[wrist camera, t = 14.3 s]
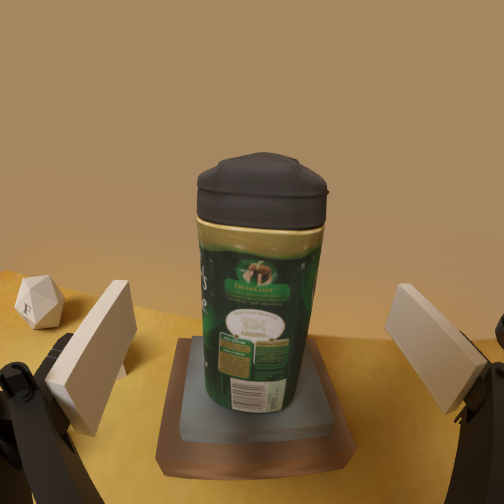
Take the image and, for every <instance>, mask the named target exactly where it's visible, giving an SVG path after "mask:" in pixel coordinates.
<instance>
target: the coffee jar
mask: <svg viewBox="0 0 504 504" xmlns="http://www.w3.org/2000/svg"><path fill="white" fill-rule="evenodd" d="M197 186H198V193H197V217H196V220H197V229H198V238H199V246H200V247H199V248H200V261H201V290H202V315H203V316H202V317H203V345H204V371H205V385H206V391H207V393H208V395H209V397H210V398H211V399H212V400H213V401H214V402H215V403H217V404H218V405H220V406H223V407H225V408H228V409H231V410H234V411H238V412H243V413H251V414H266V413H274V412H277V411H280V410H282V409H284V408H285V407H287V406H288V405H289V404H290V403H291V401H292V400H293V398H294V395H295V392H296V388H297V383H298V379H299V374H300V370H301V364H302V360H303V354H304V348H305V343H306V338H307V333H308V328H309V322H310V316H311V310H312V304H313V299H314V293H315V286H316V279H317V273H318V266H319V259H320V254H321V247H322V241H323V233H324V228H325V220H326V203H327V194H328V193H329V191H328V190H327V185H326V182H325V181H324V179H323V178H322V177H320V176H319V175H318V174H316V173H315V172H313V171H311V170H310V169H308V168H307V167H305V166H303V165H301V164H300V163H299V162H298V161H297V160H296V159H293V158H290V157H287V156H283V155H279V154H274V153H267V152H265V153H264V152H260V153H254V154H250V155H245V156H241V157H236V158H230V159H226V160H222V161H221V162H219V164H218V165H217V166H216V167H214V168H211V169H209V170H207V171H205V172H203V173H201V174H200V175H199V177H198V182H197Z"/></svg>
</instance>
